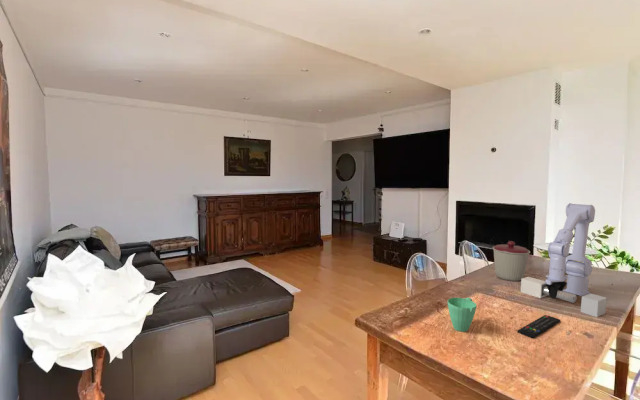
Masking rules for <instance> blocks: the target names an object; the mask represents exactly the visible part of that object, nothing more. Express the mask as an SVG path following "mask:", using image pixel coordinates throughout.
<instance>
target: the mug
mask: <svg viewBox="0 0 640 400" xmlns="http://www.w3.org/2000/svg"><path fill="white" fill-rule="evenodd" d="M447 308H448V309H447V310H448V313H449V317H450V321H451V323H452V324H451V325H452V326H453V329H454V330H455V331H458V332H461V333H466V332H468V331H469V329H470V327H471V324H472V322H473V320H474V317H475V314H476V310H477V303H476V302H474V301H473V298H471V297H465V298H464V297H463V298H462V297H451V298H448V299H447Z"/></svg>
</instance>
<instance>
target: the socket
mask: <svg viewBox="0 0 640 400" xmlns="http://www.w3.org/2000/svg"><path fill="white" fill-rule="evenodd" d="M607 299H608V298H607V297H606V296H601V295H599V294H594V293H591V292H590V293H588V294H586V295H583V296H581V301H580V302H581V303H580V312H581V313H583V314H586V315H589V316H592V317H595V318H598V317H601V316H602V315H605V314H606V311H607V310H606V309H607Z"/></svg>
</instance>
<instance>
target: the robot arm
mask: <svg viewBox="0 0 640 400" xmlns="http://www.w3.org/2000/svg"><path fill="white" fill-rule="evenodd" d="M565 214H566V220H565V222H564V226H563V228H561V229H558V232H557V234H556V236H555V238H554V239H553V241H552V242H550V243H549V244H548V247H547V252H548V257H549V269H548V274H547V275H545V277H546V279H545V280H544V281H545V284H546V286H547V288H548V291H549V295H548V296H549V298H551V299H554V300H556V299H557V298H556V296H557V292H558V290H560V291H564V292H567V293H571V294H574V295H576V296H579V297H582V296H585V295H587V294H590V293H591V291H589V283H590V281H589V276H591V275H592V271H593V268H592V267H593V266H592V260H590V259H589V258H588V257H587V256H586V250H587V249H586V248H587V244H588V243H587V242H588V236H589V226H590V223H593V222H594V221H595V216H596V209H595V206H594V205H593V204H580V203H579V204H578V203H568V204H567V205H566V207H565ZM572 240H573V244H572V253H571V254H570V255H569V252H570V248H571V245H570V244H571V241H572ZM565 274H567V275H565ZM565 287H566V288H565Z"/></svg>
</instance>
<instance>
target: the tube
mask: <svg viewBox="0 0 640 400" xmlns="http://www.w3.org/2000/svg"><path fill="white" fill-rule="evenodd" d="M519 285H520V286H521V282H520V284H519ZM542 293H543V294H546V295H547V296H549V291H548V288H547V287H546V286H542ZM577 296H578V295H576V294H572V293H569V292H565V291H560V290H558V292H557V296H556V299H560V300H563V301H567V302H569V303H573V304H575V303H576V302H577Z"/></svg>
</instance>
